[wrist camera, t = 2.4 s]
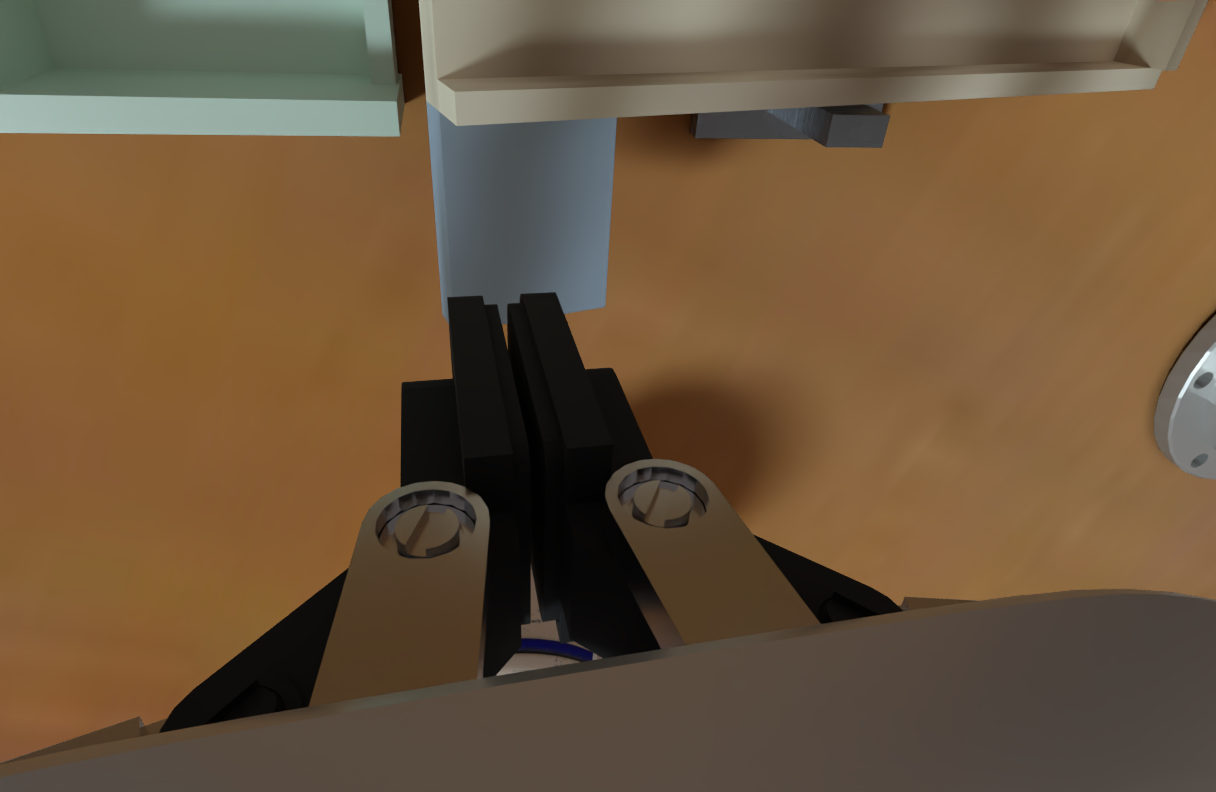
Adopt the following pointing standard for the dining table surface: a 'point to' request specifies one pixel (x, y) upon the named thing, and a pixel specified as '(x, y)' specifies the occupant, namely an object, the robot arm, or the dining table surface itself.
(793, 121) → the fulcrum
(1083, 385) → the dining table surface
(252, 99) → the tray
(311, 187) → the dining table surface
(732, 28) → the lever
